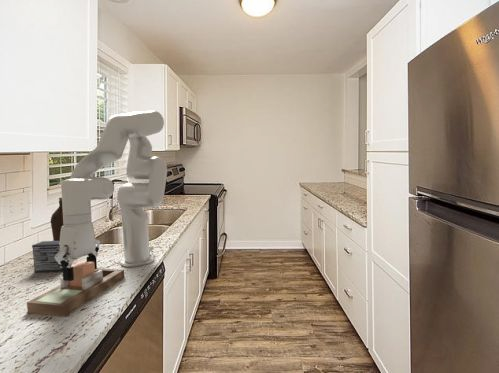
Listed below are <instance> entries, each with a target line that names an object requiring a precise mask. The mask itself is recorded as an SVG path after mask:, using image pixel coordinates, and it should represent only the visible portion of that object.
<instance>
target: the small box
mask: <svg viewBox="0 0 499 373" xmlns="http://www.w3.org/2000/svg"><path fill="white" fill-rule="evenodd" d="M31 249H32V257H33V266H34V273H53V272H54V273H55V272H56V273H57V272H63V271H62V268H61V267H60V265H58V264H57V261H56V259H55V258H54V257H55V255H56V254H57V253H58V252H59V251H60V241H54V240H44V241H40V242H37V243H33V244H32V245H31ZM68 262H69V260H67V263H68Z"/></svg>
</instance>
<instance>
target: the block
mask: <svg viewBox="0 0 499 373" xmlns="http://www.w3.org/2000/svg"><path fill="white" fill-rule="evenodd" d="M71 267H73V273H74V280H73V281H70V286H79V287H82V279H84V278H85V277H87V276H89V275H91V274H93V273H95V263H94V262H87V260H86V261H84V260H81V261H78V262H76V263H73V264H72V266H71Z"/></svg>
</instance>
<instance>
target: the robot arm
mask: <svg viewBox="0 0 499 373" xmlns="http://www.w3.org/2000/svg"><path fill="white" fill-rule="evenodd" d="M164 125H165V120H164V117H163V115H162V114H161V113H160V112H159V111H157V110H147V111H146V110H145V111H132V112H131V111H130V112H127V113H120V114H114V115H111V116H110V117H109V118H108V120H107V122H106V124H105V127H104V129H103V131H102V134H101V136H100V138H99V141H98V143H97V145H96V146H95V148H94V149H93V150H91V151H90V152H88V153H87V154H86V155H85V156H84V157H83V158H81V160H79V162H78V163H77V164H76V165H75V166H74V168H73V170H72V173H71V174H70V176H69V178H68V179H64V180H61V184H60V186H61V190H60V191H61V197H62V208H63V224H64V226H62V227H61V232H60V251H59V252H58V253H57V254H56V255H55V257H54V258H55V259H56V261H57V264H58V265H60V267H61V268H62V271H61V272H62V277H63V280H65V281H73V280H74V273H73V267H71V266H72V265H73V264H74V261H75V260H77V259H80V258H82V257H85V256H86V262H94V263H95V269H97V268H98V266H97V265H98V264H97V263H98V262H97V257H98V252H99V250H100V245H101V240H98V239H96V235H95V234H96V233H95V227H94V224H93V221H92V204H91V202H92V201H104V200H108V199H110V198H111V197H112V195H113V194H114V192H115V185H114V183H113V181H112V180H111V179H109V178H107V177H104V176H93V175H95V174H96V173H97V172H98V171H99V170H101V169H103V168H104V167H107V166H108V165H111V164H113V163H115V162H118V160H120V159H121V158H122V157H123V154H124V151H125V149H126V146H127V144H128V142H129V153H128V158H127V164H126V170H125V172H126V176H127V177H128V179H129V180H131V181H142V182H130V183H129V182H127V183H124V184H122V185H121V186H119V188H118V190H117V194H116V195H117V196H116V197H117V201H118V204H119V209H120V215H121V224H122V227H121V228H122V240H123V241H122V242H123V258H121V260H120V261H119V262H120V263H119V264H120V265H121V266H122V267H127V268H132V267H133V268H134V267H135V268H136V267H141V266H142V267H143V266H146V265H149V264H150V263H153V262H154V260H155V257H154V255H153V254H151V252H152V251H154V250H155V249H154V248H155V247H154V246H153V245H151V246H150V240H149V238H150V235H149V218H148V215H147V212H146V211H145V209H144V208H146V209H147V208H149V209H150V208H151V209H152V208H158V207H160V206H161V204H162V203H163V200H164V197H165V190H166V184H167V176H168V167H167V163H166V160H164V158H162V157H160V156H152V153H153V146H152V143H151V141H150V140H149V138H148V136H152V135H155V134H157V133H160V132H162V130H163V128H164ZM144 181H145V182H144ZM147 181H148V182H147ZM67 260H69V262H68V263H67Z"/></svg>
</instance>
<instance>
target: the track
mask: <svg viewBox="0 0 499 373" xmlns="http://www.w3.org/2000/svg"><path fill="white" fill-rule="evenodd" d="M59 280H60V285H58V286H56V287H54V288H52V289H50V290H48V291H46V292H44V293H42V294H40V295H38V296H37V297H34V298H33V299H30V300H29V301H27V302H26V306H27V307H26V308H27V313H28V314H37V315H44V316H45V315H46V316H48V315H49V316H56V317H57V316H59V317H67V316H69V315H70V314H72V313H73V312H75V311H76V310H78V309H79V308H81V307H83V306H84V305H85V304H87V303H88V302H91V301H92V300H94V299H95V298H96V297H98V296H100V295H101V294H103V293H104V292H105V291H107V290H109V289H110V288H112V287H113V286H115V285H116V284H118V283H120V282H121V281H122V280H125V269H119V268H118V269H117V268H115V269H114V268H101V267H97V269H95V273H93V274H91V275H89V276H87V277H85V278H84V279H82V287H79V286H70V281H65V280H63V276H62V277H60V278H59Z"/></svg>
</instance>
